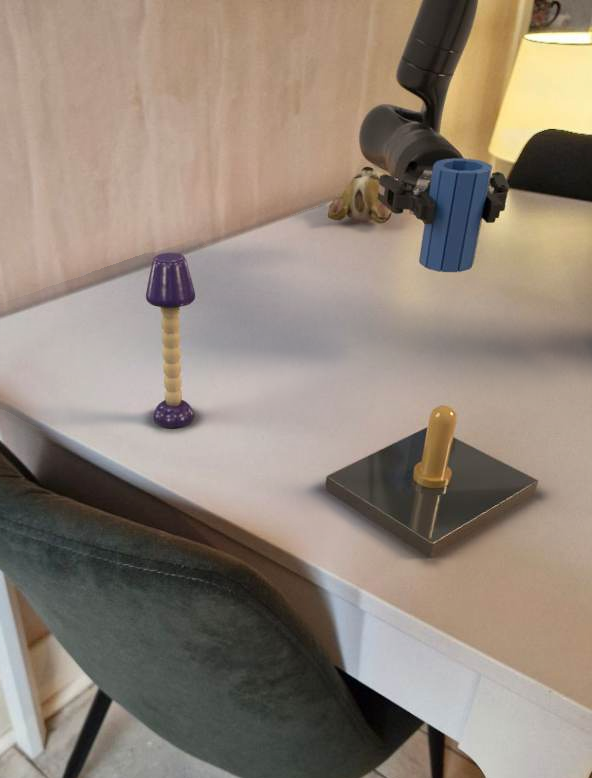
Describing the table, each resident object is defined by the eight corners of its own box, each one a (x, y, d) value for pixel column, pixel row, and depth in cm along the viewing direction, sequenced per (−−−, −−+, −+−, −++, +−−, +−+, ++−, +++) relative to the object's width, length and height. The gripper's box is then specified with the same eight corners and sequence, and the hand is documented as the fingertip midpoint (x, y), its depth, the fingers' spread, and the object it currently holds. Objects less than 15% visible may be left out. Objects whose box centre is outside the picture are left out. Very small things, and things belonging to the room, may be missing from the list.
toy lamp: (157, 404, 81) (147, 247, 71) (200, 406, 81) (196, 248, 71) (150, 428, 78) (138, 265, 67) (196, 429, 77) (190, 266, 67)
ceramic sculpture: (406, 156, 131) (392, 183, 120) (400, 207, 136) (386, 238, 126) (344, 153, 134) (325, 179, 123) (341, 203, 139) (323, 233, 129)
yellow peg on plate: (428, 438, 75) (442, 358, 70) (534, 494, 67) (560, 408, 62) (324, 489, 68) (332, 405, 63) (429, 558, 61) (448, 468, 56)
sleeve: (435, 250, 86) (450, 155, 80) (482, 261, 83) (502, 163, 77) (409, 264, 83) (423, 166, 77) (457, 276, 80) (476, 176, 74)
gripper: (368, 136, 88) (396, 176, 75) (492, 133, 88) (542, 173, 75) (361, 203, 93) (386, 252, 80) (479, 200, 93) (524, 249, 80)
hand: (462, 213), depth 77 cm, fingers closed on sleeve, 5 cm apart
